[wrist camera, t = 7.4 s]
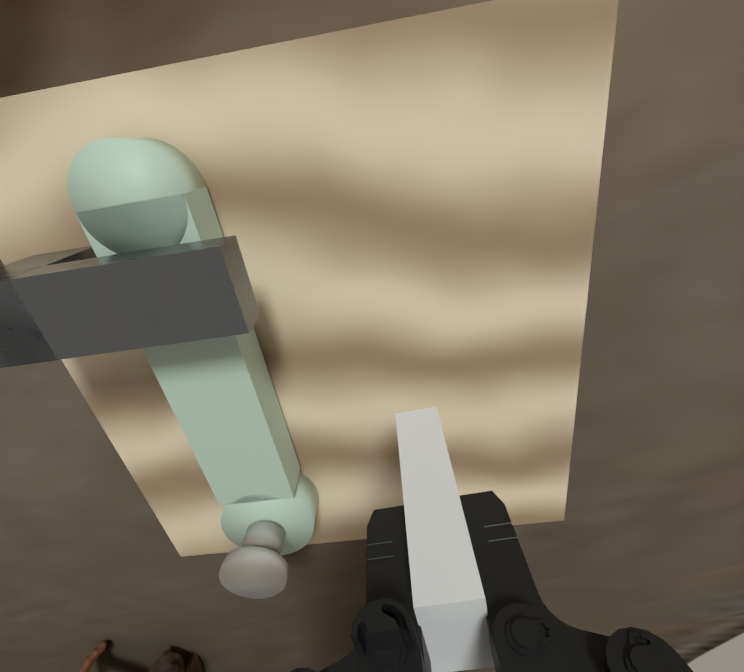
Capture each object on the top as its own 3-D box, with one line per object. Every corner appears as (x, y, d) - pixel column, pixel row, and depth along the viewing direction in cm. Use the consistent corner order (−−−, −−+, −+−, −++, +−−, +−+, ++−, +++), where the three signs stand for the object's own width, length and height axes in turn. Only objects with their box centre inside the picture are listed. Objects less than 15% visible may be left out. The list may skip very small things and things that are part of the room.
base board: (554, 500, 25) (607, 609, 19) (190, 536, 27) (139, 645, 21) (597, -9, 14) (765, -120, 8) (-48, 117, 16) (-304, 105, 10)
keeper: (278, 287, 17) (249, 333, 13) (69, 318, 18) (-20, 370, 14) (259, 218, 16) (219, 246, 12) (33, 255, 17) (-76, 293, 13)
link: (326, 520, 24) (322, 551, 22) (247, 528, 24) (237, 559, 22) (200, 126, 14) (174, 124, 12) (72, 150, 14) (29, 152, 13)
